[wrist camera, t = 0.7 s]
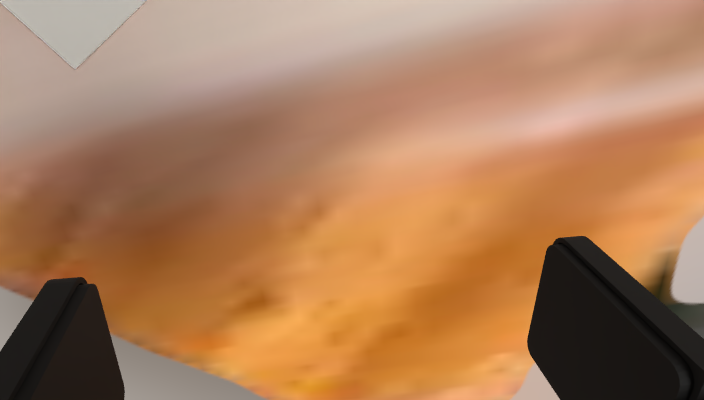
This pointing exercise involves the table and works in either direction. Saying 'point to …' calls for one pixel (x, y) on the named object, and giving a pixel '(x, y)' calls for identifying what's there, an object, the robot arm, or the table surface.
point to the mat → (73, 23)
